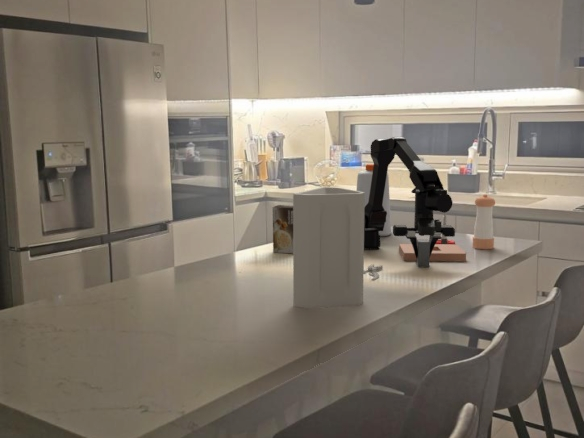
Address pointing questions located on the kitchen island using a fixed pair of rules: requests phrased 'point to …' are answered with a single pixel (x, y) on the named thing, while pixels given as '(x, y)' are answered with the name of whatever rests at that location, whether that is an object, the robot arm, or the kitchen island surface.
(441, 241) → the tow hook
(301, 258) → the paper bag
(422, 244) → the dark gray brick
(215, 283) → the kitchen island surface
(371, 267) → the pliers
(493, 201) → the pepper shaker
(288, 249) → the coffee box
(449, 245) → the tan flat board
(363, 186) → the plastic bottle
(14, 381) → the kitchen island surface
